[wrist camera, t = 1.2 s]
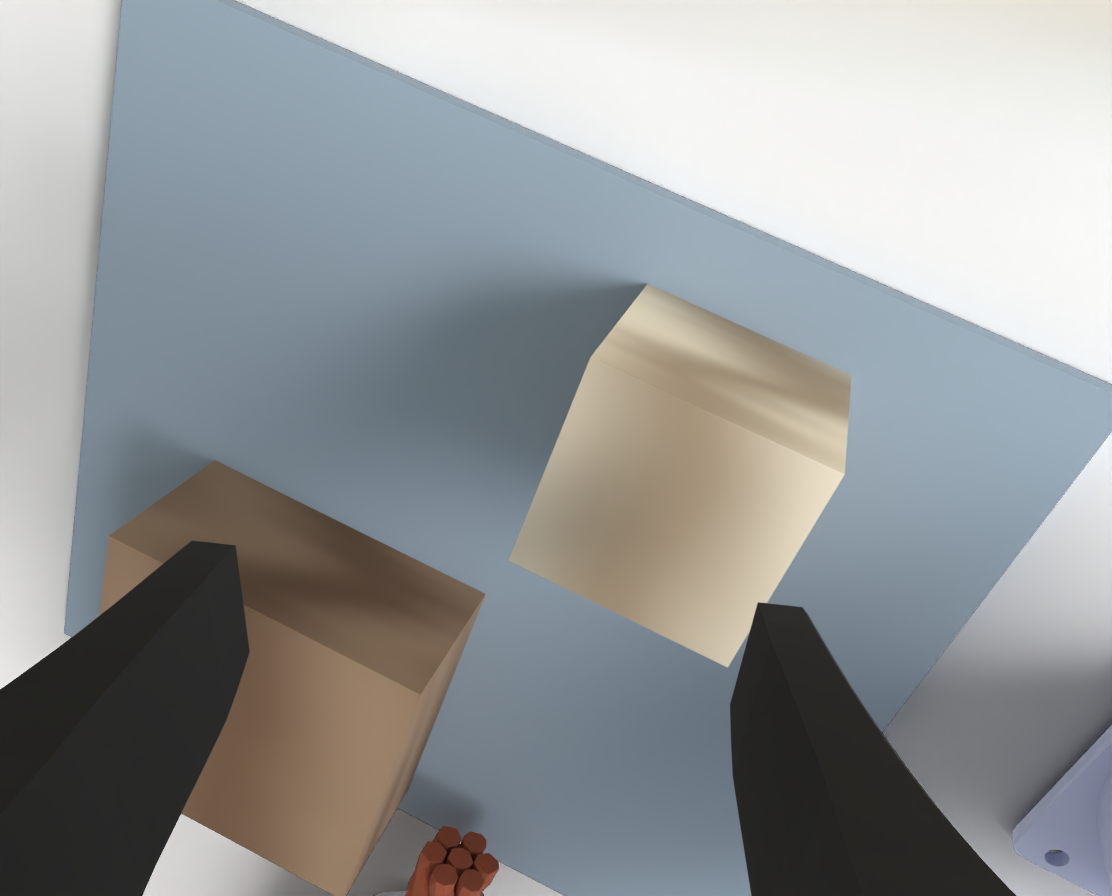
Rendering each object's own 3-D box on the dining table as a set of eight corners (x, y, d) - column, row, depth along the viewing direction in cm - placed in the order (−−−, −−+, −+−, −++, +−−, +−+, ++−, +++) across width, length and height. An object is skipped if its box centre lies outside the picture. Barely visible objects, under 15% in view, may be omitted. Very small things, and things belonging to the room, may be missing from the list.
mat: (1126, 391, 18) (1133, 402, 18) (705, 950, 28) (702, 968, 28) (144, -39, 20) (125, -40, 20) (77, 622, 30) (64, 632, 30)
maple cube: (851, 375, 19) (844, 474, 15) (755, 543, 21) (727, 667, 17) (648, 283, 19) (590, 357, 16) (574, 458, 22) (508, 560, 18)
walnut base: (485, 594, 24) (420, 694, 21) (408, 789, 28) (343, 900, 25) (214, 460, 25) (108, 535, 22) (177, 668, 29) (82, 760, 26)
